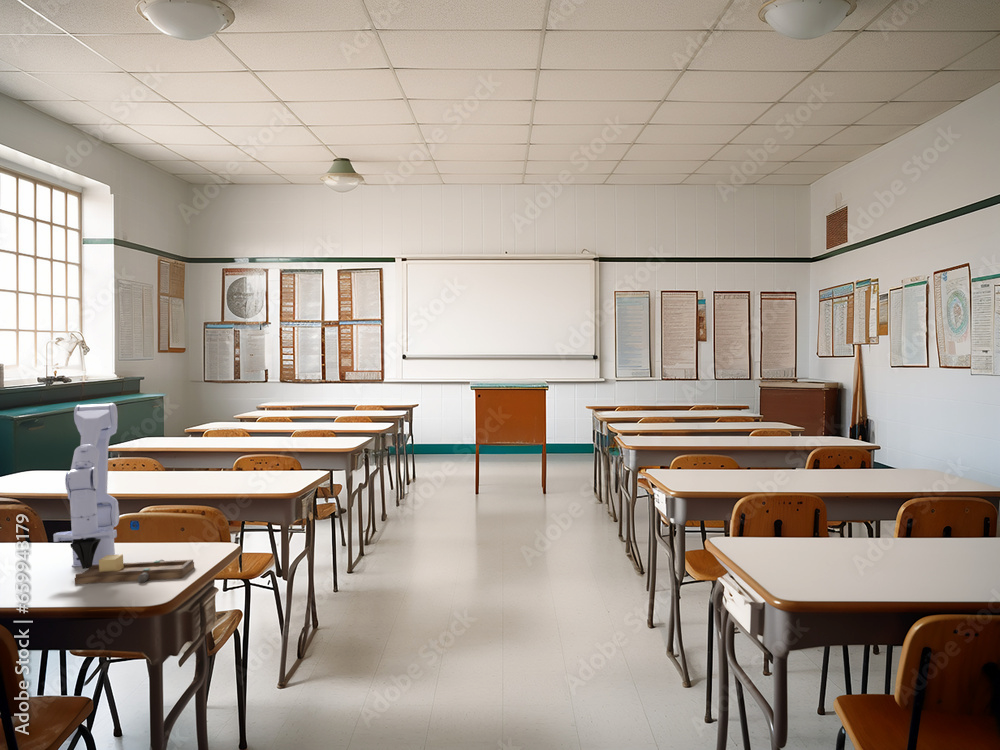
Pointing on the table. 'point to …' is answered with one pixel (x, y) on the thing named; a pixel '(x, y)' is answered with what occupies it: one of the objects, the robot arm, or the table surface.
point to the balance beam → (137, 572)
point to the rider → (111, 563)
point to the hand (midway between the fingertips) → (87, 567)
